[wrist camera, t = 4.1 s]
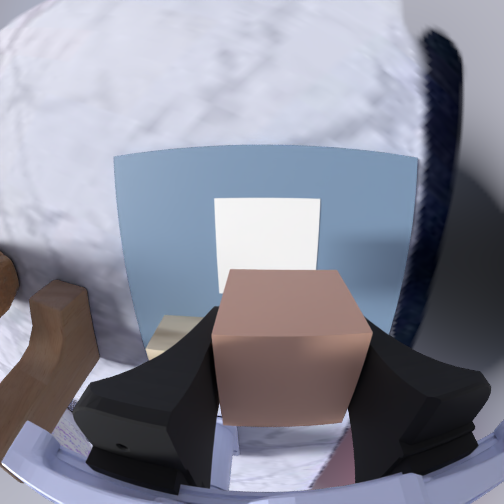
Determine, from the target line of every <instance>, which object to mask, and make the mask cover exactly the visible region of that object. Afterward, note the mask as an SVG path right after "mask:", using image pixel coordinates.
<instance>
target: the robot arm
mask: <svg viewBox="0 0 504 504" xmlns="http://www.w3.org/2000/svg"><path fill="white" fill-rule="evenodd" d="M218 309H219V306H214V307H213V308H212V309H211V310H210V311H209V312H208V313H207V314H206V316H205V317H204V318H203V319H202V320H201V321H200V322H199V323H198V324H197V325H196V326H195V327H194V328H193V329H192V330H191V331H190V332H189V333H188V334H186V335H185V336H184V337H183V338H182V339H181V340H179V341H178V342H177V343H176V344H175V345H173V346H172V347H170V348H169V349H168V350H166V351H165V352H163V353H162V354H160V355H158V356H157V357H155V358H153V359H151V360H149V361H148V362H146V363H144V364H142V365H140V366H138V367H136V368H133V369H131V370H129V371H126V372H124V373H121V374H118V375H116V376H113V377H109V378H106V379H102V380H99V381H95V382H91V383H90V384H89V385H88V387H87V388H86V390H85V391H84V393H83V394H82V396H81V398H80V399H79V401H78V403H77V404H76V406H75V408H74V409H73V412H72V414H73V418H74V421H75V422H76V424H77V426H78V427H79V429H80V430H81V431H82V432H83V434H84V435H85V436H86V438H87V439H88V440H89V441H90V443H91V444H92V445H93V447H92V449H91V451H90V454H89V456H88V457H86V456H83V455H81V454H79V453H77V452H74V451H72V450H70V449H68V448H66V447H64V446H61V445H60V443H59V442H58V440H57V439H56V438H55V437H54V436H53V435H52V434H50V433H49V432H48V431H46V430H45V429H43V428H41V427H39V426H37V425H35V424H34V423H32V422H30V421H26V423H25V424H24V426H23V427H22V429H21V430H20V432H19V434H18V435H17V437H16V438H15V440H14V442H13V443H12V445H11V446H10V448H9V450H8V451H7V453H6V455H5V457H4V458H3V460H2V465H3V466H4V467H6V468H7V469H8V470H9V471H10V472H11V473H13V474H14V475H15V476H16V477H17V478H19V479H20V480H21V481H22V482H24V483H25V484H27V485H28V486H29V487H30V488H32V489H33V490H35V491H36V492H37V493H39V494H40V495H42V496H43V497H45V498H46V499H48V500H50V501H51V502H53V503H55V504H470V503H472V502H474V501H476V500H477V499H479V498H480V497H482V496H483V495H485V494H486V493H488V492H489V491H491V490H492V489H493V488H495V487H496V486H498V485H499V484H500V483H502V482H503V481H504V420H503V421H502V422H501V423H500V424H499V425H498V426H497V428H496V429H495V430H494V432H493V433H491V434H489V435H487V436H486V437H484V438H482V439H480V440H478V441H476V439H475V437H474V435H473V433H472V431H473V430H474V429H475V425H474V423H473V422H472V421H473V419H474V418H475V417H476V416H477V414H478V413H479V412H480V410H481V409H482V408H483V406H484V405H485V403H486V402H487V400H488V398H489V396H490V393H491V386H490V384H489V383H488V381H487V380H486V378H485V377H484V376H483V374H482V373H481V372H480V371H475V370H469V369H465V368H460V367H455V366H452V365H449V364H446V363H443V362H440V361H437V360H435V359H432V358H430V357H427V356H425V355H423V354H421V353H419V352H416V351H415V350H413V349H411V348H409V347H407V346H406V345H404V344H402V343H401V342H399V341H397V340H396V339H394V338H393V337H391V336H390V335H388V334H387V333H386V332H384V331H383V330H381V329H380V328H379V327H377V326H376V325H375V324H373V323H372V322H371V321H370V320H368V319H367V318H366V317H365V319H366V321H367V323H368V325H369V326H370V328H371V330H372V332H373V334H372V337H371V341H370V344H369V348H368V351H367V354H366V358H365V361H364V364H363V367H362V370H361V373H360V376H359V379H358V382H357V385H356V387H355V390H354V393H353V395H352V398H351V401H350V403H349V406H348V412H349V418H350V424H351V431H352V438H353V447H354V460H355V484H351V485H345V486H339V487H332V488H325V489H315V490H305V491H289V492H243V491H229V485H230V475H231V466H232V456H233V455H239V454H240V451H239V442H238V432H237V426H228V425H223V421H222V418H221V417H217V413H218V408H219V403H220V400H219V393H218V386H217V378H216V370H215V362H214V353H213V344H212V331H213V327H214V324H215V320H216V317H217V313H218Z"/></svg>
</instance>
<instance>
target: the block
mask: <svg viewBox="0 0 504 504" xmlns="http://www.w3.org/2000/svg"><path fill="white" fill-rule="evenodd" d="M18 289H19V282H18V277H17V273H16V270H15V267H14V265H13V263H12V261H11V260H10V259H9V258H8V257H7V256H5V255H4V254H3V253H2V252H1V251H0V318H1V316H3V315H4V314H5V313H6V312H7V311H8V310H9V308H10V306H11V303H12V302H13V300H14V297H15V295H16V293H17V291H18Z"/></svg>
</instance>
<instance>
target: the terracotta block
mask: <svg viewBox="0 0 504 504" xmlns="http://www.w3.org/2000/svg"><path fill="white" fill-rule="evenodd" d="M372 334H373V332H372V330H371V328H370V326H369V325H368V323H367V321H366V319H365V317H364V316H363V314H362V312H361V310H360V308H359V307H358V305H357V303H356V301H355V300H354V298H353V296H352V294H351V293H350V291H349V289H348V288H347V286H346V284H345V282H344V281H343V279H342V277H341V276H340V274H339V272H338V271H337V270H258V269H230V271H229V274H228V278H227V281H226V285H225V288H224V292H223V295H222V299H221V302H220V306H219V309H218V313H217V317H216V320H215V324H214V327H213V331H212V344H213V353H214V362H215V370H216V378H217V386H218V393H219V400H220V407H221V414H222V421H223V425H228V426H247V427H292V426H311V425H323V424H334V423H342V421H343V418H344V416H345V413H346V411H347V408H348V406H349V403H350V401H351V398H352V395H353V393H354V390H355V387H356V385H357V382H358V379H359V376H360V373H361V370H362V367H363V364H364V361H365V358H366V354H367V351H368V348H369V344H370V341H371V337H372Z"/></svg>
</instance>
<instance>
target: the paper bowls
mask: <svg viewBox="0 0 504 504" xmlns="http://www.w3.org/2000/svg"><path fill="white" fill-rule="evenodd" d="M52 435H53V436H54V437H55V438H56V439H57V440H58V442H59V443H60V445H61V446H64V447H66V448H68V449H70V450H72V451H74V452H77V453H79V454H81V455H83V456H86V457H88V456H89V454H90V451H91V449H92V448H91V446H90V444H89V442H88V441H87V439H86V438H85V437H86V436H85V435H84V434H83V432H82V431H81V430H80V429H79V427H78V426H77V424H76V422H75V421H74V418H73V414H72V412H71V411H70V410H69V409H68V408H67V409H66V410H65V412H64V414H63V415H62V417H61V419H60V420H59V422H58V424H57V425H56V427H55V429H54V430H53V432H52Z"/></svg>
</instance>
